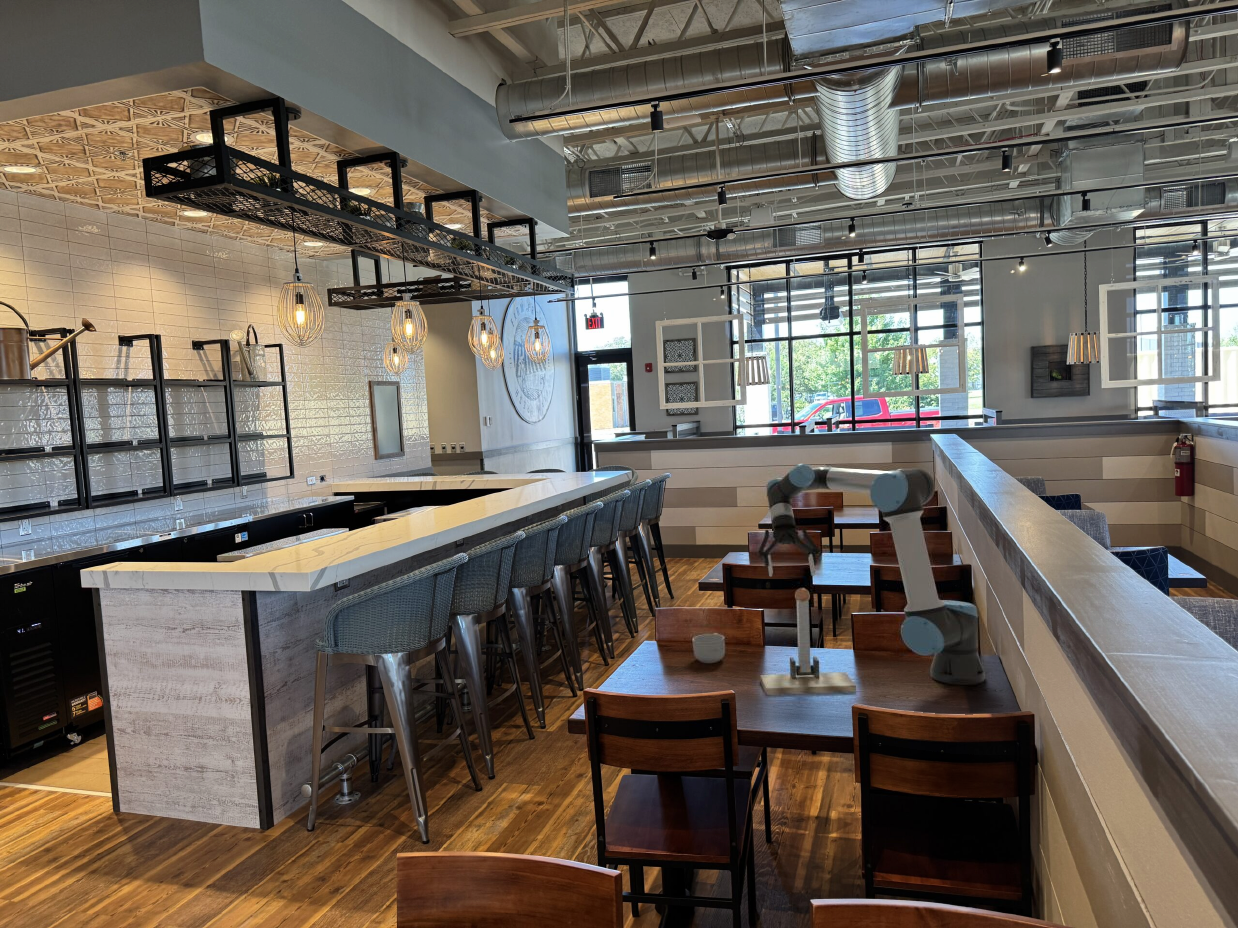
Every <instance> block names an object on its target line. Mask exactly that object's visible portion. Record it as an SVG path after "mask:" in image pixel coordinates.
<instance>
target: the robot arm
mask: <svg viewBox="0 0 1238 928" xmlns="http://www.w3.org/2000/svg"><path fill="white" fill-rule="evenodd" d="M815 490H828V491H829V490H830V491H831V490H832V491H833V490H835V491H843V492H856V493H865V494H869V497H870V500H871V503H872V505H873V506H874V507H876V509H877V510H878V511H880V512H881V514H882V519H883V520H884V521H886V522H888V524H889V527H890V532H891V536H892V540H893V543H894V548H895V552H896V558H897V561H898V565H899V570H900V574H901V579H902V583H903V587H904V592H905V596H906V601H907V604H906V605H905V607H904V609H903V612H904V617H905V619H904V621H903V622H902V624H901V626H900V634H901V638H902V640H903V642H904V644H905V645H906V647H908V649H909V650H912V652H913V653H915V654H917V655H920V656H931V655H934V656H933V659H932V662H931V665H930V671H929V672H930V677H931V678H932V679H933V680H934V681H937V682H940V683H944V684H949V685H954V686H955V685H957V686H970V685H971V686H973V685H978V684H981V683H983V682H984V681H985V677H986V675H985V674H986V673H985V669H984V667H983V663H982V662H981V661H982V660H981V659H980V656H979V648H978V647H979V645H978V644H979V640H978V636H979V635H978V633H979V632H978V626H979V625H978V618H979V616H978V611H977V609H978V608H977V606H976V605H974V604H972V603H970V602H965V601H958V600H950V599H948V600H946V599H945V600H944V599H943V600H942V599H940V598H939V596H938V591H937V586H936V583H935V578H934V573H933V569H932V565H931V561H930V557H929V553H928V548H927V543H926V541H925V535H924V531H923V527H922V522H921V516H922V514H923V513H924V507H923V505H925V504H926V503H928V502H929V501H930V500H931V499H932V498H933V496H934V494H935V491H936V483H935V481H934V478H933V477H932V475H931V474H930V473H929V472H927V470H924V469H921V468H918V467H912V468H899V469H894V470H888V471H887V470H885V471H884V470H872V469H858V468H857V469H856V468H842V467H841V468H839V467H833V466H829V465H826V466H825V465H822V466H819V467H810V466H809V465H807V464H805V463H799V464H796V465H795V466H794V467H793V468H792V469H790V471H789V472H788V473H787V474H786V475H785V476H784V477H783V478H780V477H778V478H774V479H772V480H769V481H768V483H766V497H767V502H768V507H769V513H770V519H771V526H772V531H770V530H769V529H766V530H765V531H764V534H763V535H764V537H763V540H762V542H761V545H760V547H759V548H758V551H757V555H756V556H757V558H762V560H763V563H764V566H765V567H767V568H768V575H769V577H773V573H774V571H773V569H774V568H773V564H772V559H771V558H772V557H771V553H773V551H774V550H775V549H776V547H778V546H779V545H780V544H781V545H793V546H795V547H797V548H799V549H800V550H801V551H802V552H803V553H805V554H806V555H807V556H808V565H809V568H810V569H809V570H810V575H811V576H813V577H814V576H815V574H816V567H815V566H817V557H819V556H820V553H821V549H820V548H819V547H818V545H816V543H815V542H814V541H813V540H812V538H810V536H809V535H808V532H807V530H806V529H802V530H801V531H799V530H797V528H796V527H797V526H796V521H795V518H794V516H795V515H794V511H793V506H792V500H794V499H795V498H796V497H797V496H798V495H800V493H802V492H806V491H807V492H808V491H815ZM798 536H799V537H798ZM772 537H773V539H774V540H773V541H772V543H771V544H770V545H769V546H768V547H767V548H766V546H767V543H768V542H769V539H771V538H772ZM800 538H801V539H802V540H803V541H802V540H801V539H800ZM765 548H766V550H765ZM764 550H765V551H764Z"/></svg>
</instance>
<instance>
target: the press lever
mask: <svg viewBox="0 0 1238 928" xmlns="http://www.w3.org/2000/svg"><path fill="white" fill-rule="evenodd" d="M810 596H811V594H810V591H809V590H808V589H806V588H805V587H800V588H798V589H796V591H795V592H794V598H795V601H796V616H797V617H796V622H797V623H796V625H797V626H796V627H797V629H796V630H797V657H798V665H796V676H805V675H814V667H813V664H811V640H810V639H811V638H810V637H811V635H810V610H809V609H810V605H809V603H810V602H809V600H810V598H811V597H810Z"/></svg>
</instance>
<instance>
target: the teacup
mask: <svg viewBox="0 0 1238 928" xmlns="http://www.w3.org/2000/svg"><path fill="white" fill-rule="evenodd" d="M691 641H692V647H693V654H694V657H695V659H697V660H698V661H700V663H703V664H715V663H718V662H720V661H721V659H722V658H724V656H725V654H726V644H725V636H724V635H722V634H719V633H717V632H714V633H705V634H700V635H696V636H693V638H692V640H691Z"/></svg>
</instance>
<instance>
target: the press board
mask: <svg viewBox="0 0 1238 928" xmlns="http://www.w3.org/2000/svg"><path fill="white" fill-rule="evenodd" d="M796 663H797V662H796V660H795V658H794V657H793V656H792V657H791V656H790V657H789V671H790V672H789V673H783V674H780V673H779V674H760V677H759V678H760V684H761V686H762V688H763V690H764V692H765V694H766V695H765V696H773V695H774V696H775V695H778V696H779V695H782V696H783V695H805V694H807V695H808V694H810V695H812V694H839V693H857V686H856V684H855V682H854V681H853V680H852V678H851V677H850V676H849V675H848V674H847V672H845V671H844V672H842V671H841V672H820V660H819V658H818V657H817V656H812V665H813V667H814V675H805V676H796V666H797V665H796Z"/></svg>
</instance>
